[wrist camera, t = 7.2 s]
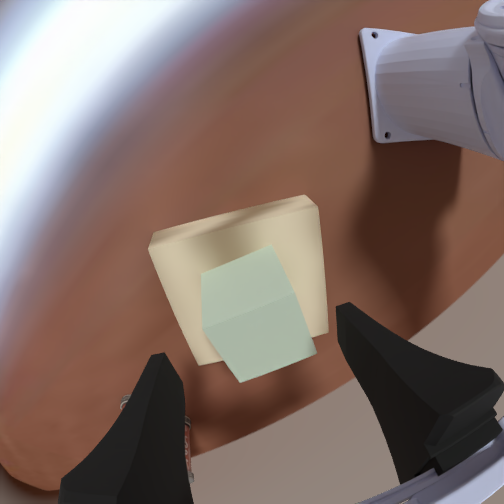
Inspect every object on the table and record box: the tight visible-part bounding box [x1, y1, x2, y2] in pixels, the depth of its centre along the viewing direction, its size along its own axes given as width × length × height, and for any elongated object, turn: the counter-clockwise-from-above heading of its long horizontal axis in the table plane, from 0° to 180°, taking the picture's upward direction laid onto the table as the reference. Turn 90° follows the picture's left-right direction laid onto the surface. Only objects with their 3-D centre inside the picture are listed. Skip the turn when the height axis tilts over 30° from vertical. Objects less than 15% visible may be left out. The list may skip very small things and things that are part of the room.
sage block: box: [201, 244, 317, 383], centre depth 17 cm, size 4×4×5 cm
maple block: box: [148, 195, 328, 366], centre depth 21 cm, size 10×10×3 cm
